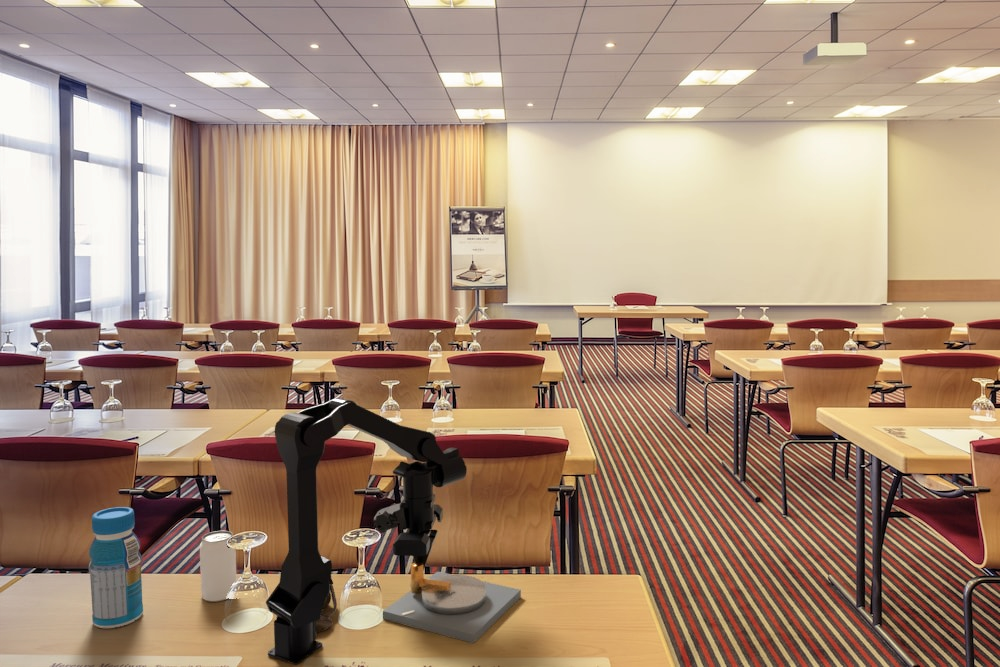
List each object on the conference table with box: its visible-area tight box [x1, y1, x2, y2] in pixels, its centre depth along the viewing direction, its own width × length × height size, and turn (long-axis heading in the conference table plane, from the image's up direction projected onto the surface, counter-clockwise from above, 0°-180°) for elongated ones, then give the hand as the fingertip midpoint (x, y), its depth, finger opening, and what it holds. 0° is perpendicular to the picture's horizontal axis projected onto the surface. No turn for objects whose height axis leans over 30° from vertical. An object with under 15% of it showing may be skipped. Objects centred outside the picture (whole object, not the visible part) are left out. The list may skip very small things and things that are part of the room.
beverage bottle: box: [88, 506, 144, 629], centre depth 127 cm, size 8×8×20 cm
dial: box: [410, 561, 486, 614], centre depth 132 cm, size 15×12×6 cm
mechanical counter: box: [316, 584, 338, 633], centre depth 128 cm, size 7×13×10 cm
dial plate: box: [382, 571, 522, 644], centre depth 131 cm, size 19×19×2 cm
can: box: [199, 530, 238, 603], centre depth 136 cm, size 6×6×12 cm
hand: (420, 570), depth 136 cm, fingers closed
